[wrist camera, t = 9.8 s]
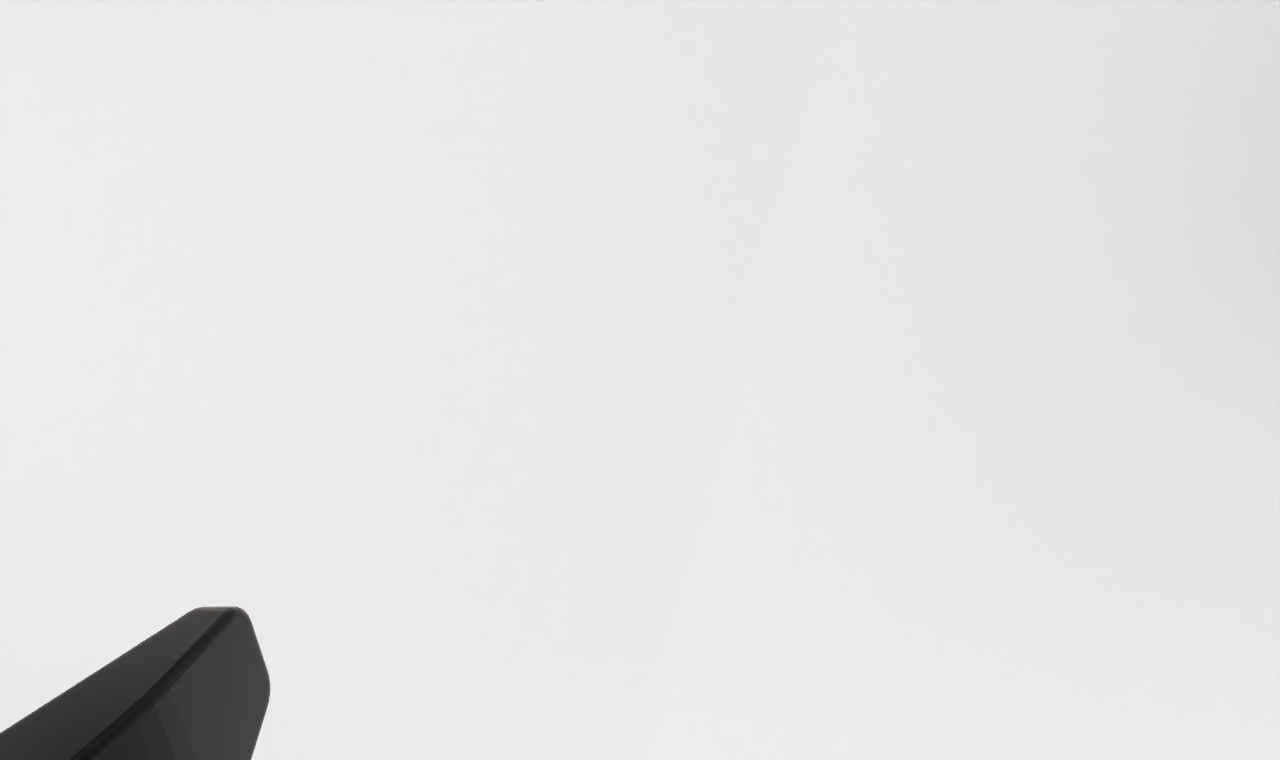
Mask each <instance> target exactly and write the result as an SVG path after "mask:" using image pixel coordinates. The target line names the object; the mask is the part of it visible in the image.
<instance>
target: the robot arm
mask: <svg viewBox="0 0 1280 760" xmlns="http://www.w3.org/2000/svg"><path fill="white" fill-rule="evenodd" d="M269 696H270V680H269V675H268V671H267V668H266V665H265V662H264V659H263V656H262V653H261V650H260V647H259V644H258V641H257V638H256V635H255V631H254V628H253V625H252V622H251V620H250V618H249V615H248V614H247V613H246V612H245V611H244V610H243V609H241V608H238V607H200V608H196V609H194V610H192V611H190V612H188V613H187V614H185V615H184V616H182V617H181V618H179V619H178V620H176V621H174V622H173V623H171V624H170V625H168V626H167V627H165V628H164V629H162V630H160V631H159V632H157V633H156V634H154V635H153V636H151V637H149V638H148V639H146V640H145V641H143V642H142V643H140V644H139V645H137V646H135V647H134V648H132V649H131V650H129V651H128V652H126V653H124V654H123V655H121V656H120V657H118V658H117V659H115V660H114V661H112V662H110V663H109V664H107V665H106V666H104V667H103V668H101V669H100V670H98V671H96V672H95V673H93V674H92V675H90V676H89V677H87V678H85V679H84V680H82V681H81V682H79V683H78V684H76V685H75V686H73V687H71V688H70V689H68V690H67V691H65V692H64V693H62V694H60V695H59V696H57V697H56V698H54V699H53V700H51V701H50V702H48V703H46V704H45V705H43V706H42V707H40V708H39V709H37V710H36V711H34V712H32V713H31V714H29V715H28V716H26V717H25V718H23V719H21V720H20V721H18V722H17V723H15V724H14V725H12V726H11V727H9V728H7V729H6V730H4V731H3V732H1V733H0V760H251V758H252V755H253V752H254V749H255V745H256V742H257V739H258V736H259V732H260V729H261V726H262V723H263V719H264V716H265V713H266V710H267V706H268V702H269Z"/></svg>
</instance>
